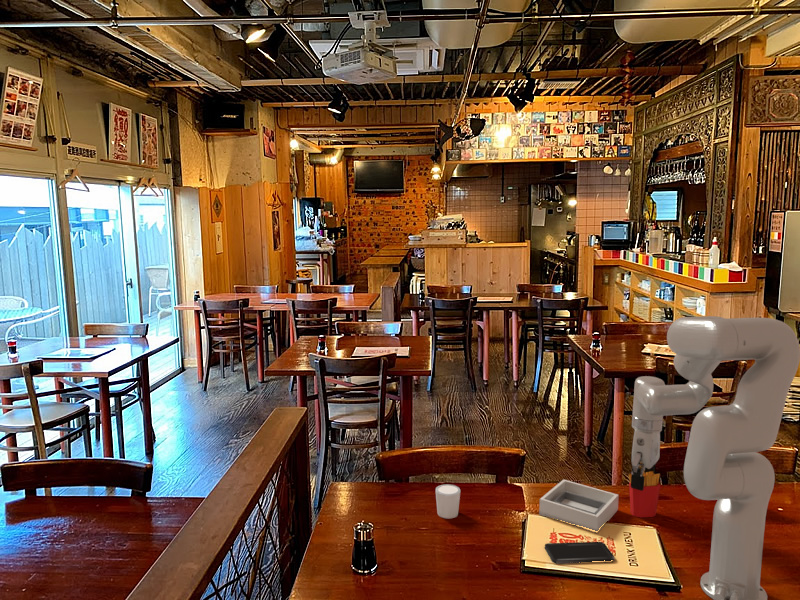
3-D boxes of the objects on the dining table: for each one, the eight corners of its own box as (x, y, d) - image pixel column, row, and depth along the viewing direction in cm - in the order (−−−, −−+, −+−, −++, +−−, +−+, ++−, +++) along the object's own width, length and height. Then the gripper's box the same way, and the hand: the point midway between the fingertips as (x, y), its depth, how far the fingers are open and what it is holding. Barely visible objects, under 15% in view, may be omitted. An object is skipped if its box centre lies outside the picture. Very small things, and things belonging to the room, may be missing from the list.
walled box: (596, 533, 153) (597, 516, 152) (539, 514, 163) (539, 499, 162) (617, 510, 165) (618, 494, 165) (563, 493, 175) (563, 479, 175)
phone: (616, 559, 140) (553, 560, 139) (615, 563, 140) (553, 565, 139) (602, 541, 148) (543, 543, 147) (602, 545, 148) (543, 547, 147)
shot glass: (464, 516, 162) (465, 492, 161) (441, 521, 159) (442, 496, 158) (453, 505, 168) (453, 482, 167) (431, 510, 165) (431, 486, 165)
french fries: (653, 509, 166) (655, 468, 164) (660, 516, 162) (663, 474, 160) (624, 511, 165) (626, 469, 163) (631, 518, 161) (633, 475, 159)
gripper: (652, 435, 151) (647, 498, 154) (670, 417, 165) (665, 475, 167) (622, 428, 156) (618, 490, 158) (642, 411, 169) (638, 468, 172)
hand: (642, 482), depth 163 cm, fingers open, 9 cm apart
